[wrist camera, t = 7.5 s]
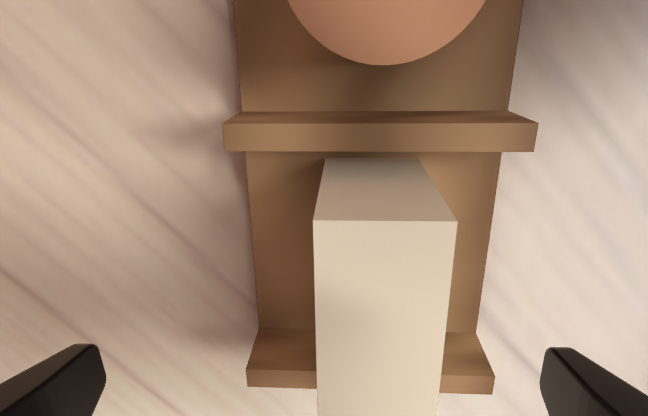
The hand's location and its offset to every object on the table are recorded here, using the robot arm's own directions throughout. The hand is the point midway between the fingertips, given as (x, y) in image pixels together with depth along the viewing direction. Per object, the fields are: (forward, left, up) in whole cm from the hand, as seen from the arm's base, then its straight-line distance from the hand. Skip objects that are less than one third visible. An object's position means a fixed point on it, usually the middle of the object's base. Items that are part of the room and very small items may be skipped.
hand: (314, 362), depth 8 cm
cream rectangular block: (-2, +3, -11) cm, 12 cm away
